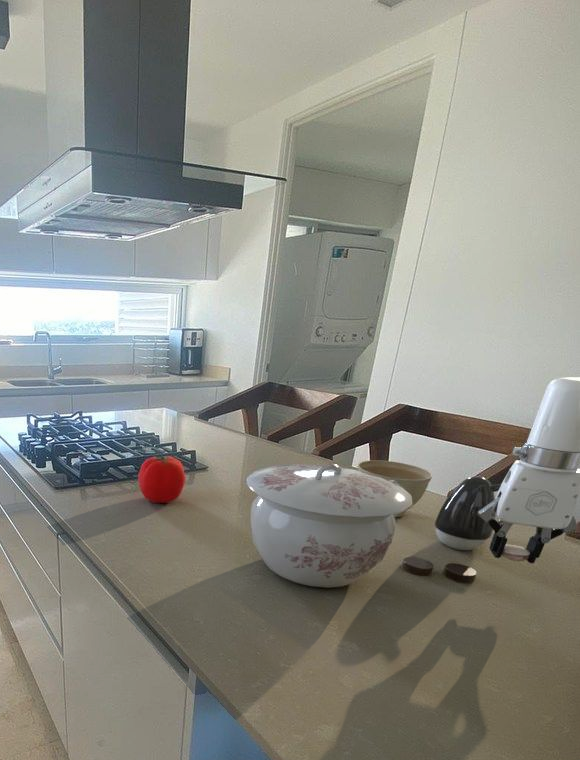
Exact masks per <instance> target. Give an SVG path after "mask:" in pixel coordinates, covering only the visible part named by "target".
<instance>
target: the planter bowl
mask: <svg viewBox="0 0 580 760" xmlns="http://www.w3.org/2000/svg"><path fill="white" fill-rule="evenodd" d="M357 471H361V472H365V473H368V474H371V475H374V476H377V477H380V478H383V479H386V480H388V481H389V480H394V481H396V482H397V483H398V484H400V486H401V487H402V488H403V489H405V490H406V491H407V492H408V493H409V494H410V495H411V496H412V506H410V507H409V508H407V509H406V510H404V511H403V512H401V513H399V514H398V515H397V516H396V517H395V518H400V517H403V516H404V515H405V514H406V513H407V511H408V510H409V509H411V508H412V507H413V506H414V505H416V504H418V502H419V501H420V500H421V499H422V497H423V496H424V495H425V493H426V491H427V490H428V489H427V488H428V486H429V483H430V482H431V481H432V478H433V474H432V473H431V472H430V471H429V470H427V469H425V468H423V467H419V466H417V465H412V464H408V463H404V462H399V461H392V460H364V461H361V462H359V463H358V464H357Z"/></svg>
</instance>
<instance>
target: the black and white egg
mask: <svg viewBox="0 0 580 760" xmlns="http://www.w3.org/2000/svg"><path fill="white" fill-rule="evenodd" d="M501 484H502V483H499V484H498V483H497V484H492V483H491V481H489V480H488V479H487V478H485V477H483V476H478V475H477V476H470V477H467V478H465V479H463V480H462V481H461V482H460V483H458V485H457V486H456V487H455V488H454V489H453V490H452V491H451V493H450V494H449V495H448V497H447V498H446V500H445V501H444V502H443V504H442V505H441V507H440V510H439V512H438V514H437V516H436V518H435V521H434V527H435V534H436V538H437V539H438V540H439V542H441V544H443V545H445V546H446V547H449V548H451V549H455V550H457V551H458V550H460V551H472V550H476V549H478V548H481V547H482V546H483V545H484V544H485V543H486V542H487V541H488V539H490V538H491V537H492V536H493V532H494V530H493V529H492V528H491V526H490V525H489V524H488V523H487V522H485V521H484V520H483V519H482V518H481V517H480V516H479V515H478V512H479V511H480V510H481V509H483V508H484V507H485V506H487V505H488V504H490V503H491V502H492V501H494V500H495V498H496V495H495V493H497V492H498V491H499V489H500V486H501ZM491 516H492V517H493V518H494V519H495V520H496V516H497V514H496V513H492V515H491Z"/></svg>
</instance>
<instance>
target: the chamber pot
mask: <svg viewBox="0 0 580 760" xmlns="http://www.w3.org/2000/svg"><path fill="white" fill-rule="evenodd" d="M246 483H247V487H248V488H249V489H250V490H252V492H254V493H255V494H256V495H257V496H256V497H255V499H253V502H251V504H250V505H251V507H250V513H249V517H250V529H251V530H250V531H251V538H252V544H253V545H254V547H255V549H256V551H257V553H258V555H259V557H260V559H261V560H262V562H263V563H264V564H265V565H266V567H268V569H269V570H270V571H271V572H273V573H275V574H276V575H278V576H279V577H281V578H283V579H286V580H288V581H291V582H293V583H296V584H301V585H304V586H307V587H308V586H309V587H317V588H327V589H329V588H340V587H345V586H348V585H351V584H354V583H357V582H358V581H359V580H360V579H362V578H363V577H364V576H365V575H367V574H368V573H369V572H370V571H371V570H372V569H374V568H375V567H376V566H377V565H379V564H380V563H381V562H382V561H383V559H384V557H385V556H386V554H387V552H388V550H389V548H390V546H391V544H392V542H393V538H394V535H395V533H396V518H397V517H396V516H397V515H398V514H399V513H401V512H403V511H404V510H406V509H407V508H409V507H410V506H412V496H411V495H410V494H409V493H408V492H407V491H406V490H405V489H403V488H402V487H401V486H400V484H398V483H397V482H396V481H394V480H389V481H388V480H386V479H383V478H380V477H377V476H374V475H371V474H368V473H365V472H361V471H358V470H355V469H351V468H348V467H347V468H346V467H341V466H340V465H338V464H335V463H327V464H311V463H295V464H294V463H293V464H292V463H291V464H289V463H288V464H281V465H273V466H266V467H263V468H260V469H257V470H254V471H253V472H252V473H251V474H250V475H249V476H248V477H247V478H246ZM412 507H413V506H412ZM409 509H410V508H409ZM406 511H407V510H406Z"/></svg>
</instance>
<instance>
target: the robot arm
mask: <svg viewBox="0 0 580 760" xmlns="http://www.w3.org/2000/svg"><path fill="white" fill-rule="evenodd" d="M546 386H547V387H546V389H545V391H544V394H543V396H542V399H541V402H540V405H539V408H538V410H537V412H536V416H535V419H534V421H533V424H532V427H531V429H530V432H529V434H528V437H527V440H526V442H524V444H523V445H522V446H520V447H519V446H517V447H516V446H515V447H514V448H513V449H512V456H517V457H518V458H519V460H517V459H516V460H515V461H514V462H513V464H512V465H511V467H510V468H509V470H508V472H507V473H506V474H505V477H504V479H503V480H502V482H501V483H500V484H501V486H500V489H499V491H497V492H496V495H495V500H494V501H492V502H491V503H490V504H488V505H487V506H485V507H484V508H483V509H481V510H480V511H479V512H478V515H479V516H480V517H481V518H482V519H483V520H484V521H485V522H487V523H488V524H489V525H490V526H491V528H492V529H493V532H494V533H493V535H492V539H491V541H490V544H489V551H490V553H491V554H492V555H493V557H494V558H496V559H500V558H501V557H502V553H503V550H504V547H505V545H507V542H508V538H507V534H508V532H509V531H510V529H511V528H512V526H513V525H520V526H526V527H532V528H533V527H535V534H534V535H532V536H531V537H529V539H528V542H527V544H526V547H525V549H527V550H528V551H529V552H530V555H528V557H529V558H528V559H526V560H525V561H527V562H528V563H529V564H535V562H536V560H537V558H540V556H541V554H542V552H543V549H544V547H545V545H546V544H549V543H550V542H551V540H553V539H555V538H558V537H560V536H562V535H563V534H567V533H570V532H572V531H576V530H577V529H578V528H579V525H578V523H577V520H576V518H575V516H574V514H575V511H576V508H577V505H578V502H579V498H580V468H579V467H580V377H559V378H555V379H553V380H551V381H550V382H549V384H548V385H546ZM492 513H496V517H497V519H498V520H497V519H496V518H495V519H494V518H493V517H492V516H491V515H492Z"/></svg>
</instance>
